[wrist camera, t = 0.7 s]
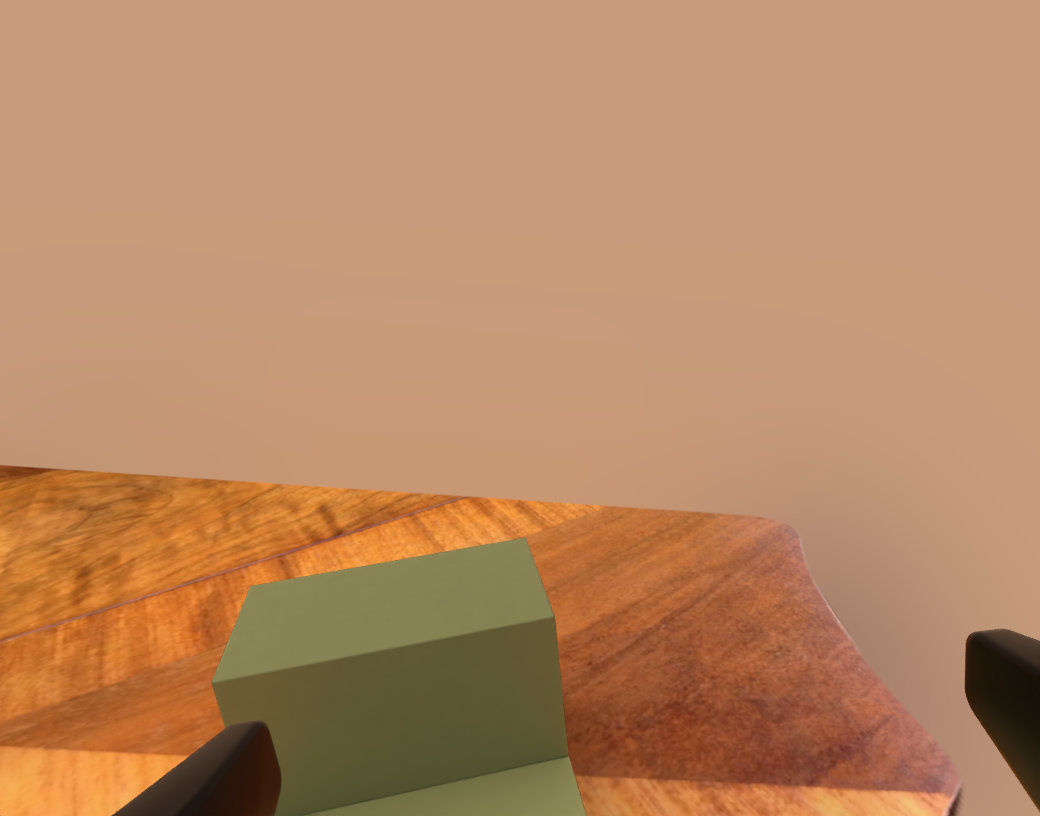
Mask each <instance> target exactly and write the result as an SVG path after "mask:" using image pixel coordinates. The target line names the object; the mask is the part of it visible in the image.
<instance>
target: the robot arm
mask: <svg viewBox="0 0 1040 816" xmlns="http://www.w3.org/2000/svg"><path fill="white" fill-rule="evenodd" d="M965 656H966V657H965V693H966V697H967V700H968V703H969V705H970V707H971V709H972V711H973V712H974V714H975V716H976V717H977V719H978V720H979V721H980V723H981V725H982V726H983V728H984V729H985V730H986V732H987V734H988V735H989V737H990V738H991V739H992V741H993V742H994V744H995V746H996V747H997V749H998V750H999V752H1000V753H1001V755H1002V756H1003V758H1004V759H1005V761H1006V762H1007V764H1008V765H1009V767H1010V768H1011V770H1012V771H1013V773H1014V774H1015V776H1016V777H1017V779H1018V780H1019V782H1020V783H1021V784H1022V786H1023V788H1024V789H1025V791H1026V792H1027V794H1028V795H1029V797H1030V798H1031V800H1032V801H1033V803H1034V804H1035V806H1036V807H1037V809H1038V810H1039V811H1040V641H1039V640H1036V639H1033V638H1030V637H1027V636H1024V635H1022V634H1019V633H1016V632H1013V631H1011V630H1007V629H994V630H986V631H978V632H973V633H972V634H970V635H969V636H968V638H967V640H966V655H965ZM281 785H282V777H281V770H280V766H279V762H278V759H277V755H276V751H275V748H274V744H273V741H272V737H271V734H270V730H269V728H268V726H267V724H266V723H265V722H263V721H261V720H255V721H247V722H239V723H234V724H231V725H230V726H228V727H227V728H225V729H224V730H223V731H222V732H220V733H219V734H218V735H216V736H215V737H214V738H212V739H211V740H210V741H209V742H207V743H206V744H205V745H203V746H202V747H201V748H199V749H198V750H197V751H195V752H194V753H193V754H192V755H190V756H189V757H188V758H186V759H185V760H184V761H182V762H181V763H180V764H179V765H177V766H176V767H175V768H173V769H172V770H171V771H169V772H168V773H167V774H166V775H164V776H163V777H162V778H160V779H159V780H158V781H156V782H155V783H154V784H153V785H151V786H150V787H149V788H147V789H146V790H145V791H143V792H142V793H141V794H140V795H138V796H137V797H136V798H134V799H133V800H132V801H130V802H129V803H128V804H126V805H125V806H124V807H123V808H121V809H120V810H119V811H117V812H116V813H115V814H113V815H112V816H275V812H276V808H277V804H278V800H279V796H280V792H281Z"/></svg>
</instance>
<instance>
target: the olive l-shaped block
mask: <svg viewBox="0 0 1040 816" xmlns="http://www.w3.org/2000/svg"><path fill="white" fill-rule="evenodd" d="M212 686H213V690H214V693H215V696H216V699H217V703H218V706H219V709H220V712H221V716H222V719H223V722H224V726H225V728H227V727H228V726H230V725H231V724H234V723H239V722H247V721H255V720H261V721H263V722H265V723H266V724H267V726H268V728H269V730H270V734H271V737H272V741H273V744H274V748H275V751H276V755H277V759H278V762H279V766H280V770H281V777H282V785H281V792H280V796H279V800H278V804H277V808H276V812H275V816H587V815H586V812H585V808H584V805H583V801H582V798H581V795H580V791H579V788H578V785H577V781H576V778H575V775H574V771H573V768H572V765H571V761H570V758H569V754H568V744H567V734H566V724H565V714H564V704H563V694H562V683H561V673H560V663H559V653H558V643H557V633H556V623H555V616H554V613H553V610H552V607H551V605H550V602H549V599H548V596H547V594H546V591H545V588H544V586H543V583H542V580H541V577H540V575H539V572H538V569H537V567H536V564H535V561H534V558H533V556H532V553H531V550H530V547H529V545H528V542H527V539H526V538H520V539H515V540H509V541H503V542H498V543H492V544H486V545H481V546H475V547H469V548H464V549H458V550H452V551H446V552H441V553H435V554H429V555H424V556H418V557H412V558H407V559H401V560H395V561H390V562H384V563H378V564H373V565H367V566H361V567H356V568H350V569H344V570H339V571H333V572H327V573H322V574H316V575H310V576H305V577H299V578H293V579H288V580H282V581H276V582H271V583H265V584H259V585H254V586H251V587H250V589H249V592H248V594H247V596H246V599H245V601H244V604H243V606H242V609H241V611H240V614H239V616H238V619H237V621H236V623H235V626H234V628H233V631H232V633H231V636H230V638H229V641H228V643H227V646H226V648H225V650H224V653H223V655H222V658H221V660H220V663H219V665H218V668H217V670H216V673H215V675H214V677H213V680H212Z"/></svg>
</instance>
